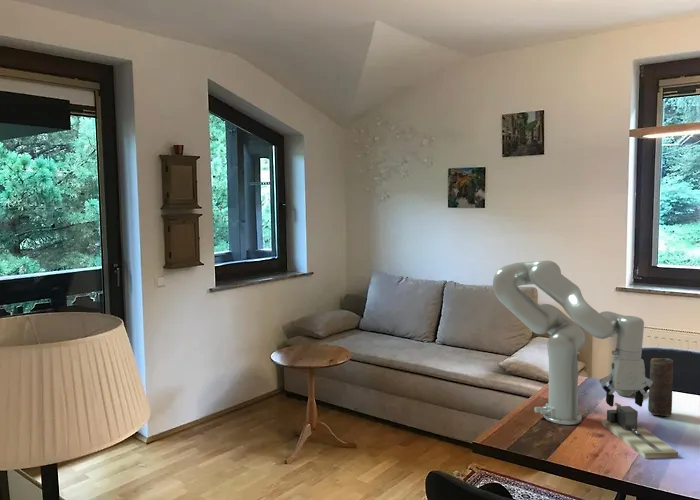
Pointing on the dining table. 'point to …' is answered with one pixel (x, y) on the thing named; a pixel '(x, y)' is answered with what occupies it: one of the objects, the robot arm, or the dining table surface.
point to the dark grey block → (627, 418)
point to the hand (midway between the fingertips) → (624, 404)
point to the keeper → (613, 414)
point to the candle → (661, 386)
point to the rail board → (642, 441)
